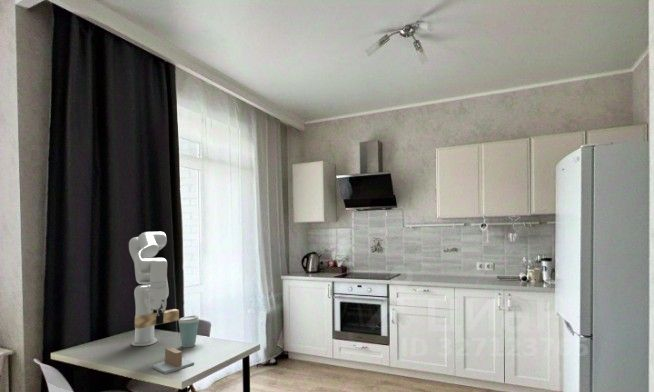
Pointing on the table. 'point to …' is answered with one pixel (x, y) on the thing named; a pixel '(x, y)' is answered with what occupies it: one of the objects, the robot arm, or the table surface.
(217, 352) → the table surface
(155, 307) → the robot arm
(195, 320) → the disposable coffee cup
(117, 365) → the table surface
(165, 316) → the oak bar
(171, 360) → the stand
